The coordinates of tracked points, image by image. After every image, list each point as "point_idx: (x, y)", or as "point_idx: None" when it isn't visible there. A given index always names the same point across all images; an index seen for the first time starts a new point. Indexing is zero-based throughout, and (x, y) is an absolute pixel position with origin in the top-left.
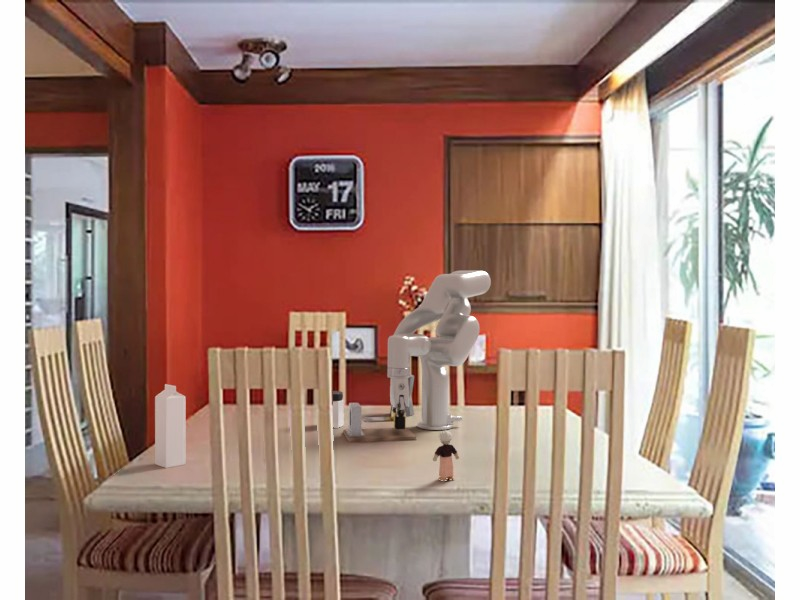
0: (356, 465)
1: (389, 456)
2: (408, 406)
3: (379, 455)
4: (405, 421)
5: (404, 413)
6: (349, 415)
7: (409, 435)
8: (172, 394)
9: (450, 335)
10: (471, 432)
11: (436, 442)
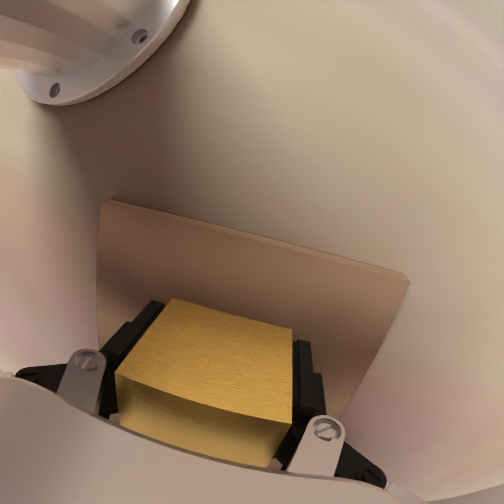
0: (484, 477)
1: (500, 431)
2: (394, 498)
3: (475, 449)
4: (291, 362)
5: (340, 450)
6: None
7: (355, 306)
8: None
9: None
10: None
11: (498, 198)
